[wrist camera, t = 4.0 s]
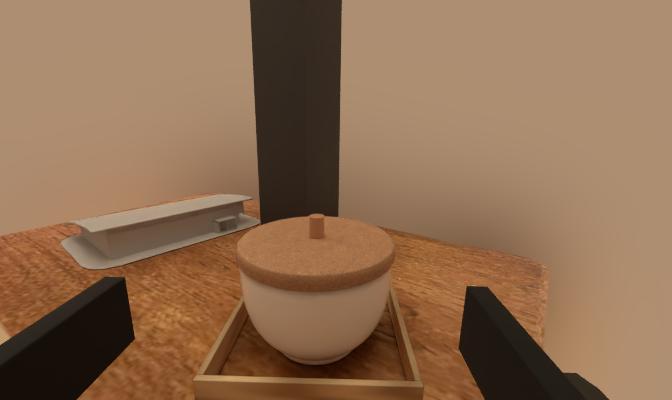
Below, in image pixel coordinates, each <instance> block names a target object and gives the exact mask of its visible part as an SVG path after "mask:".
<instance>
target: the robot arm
mask: <svg viewBox="0 0 672 400" xmlns="http://www.w3.org/2000/svg"><path fill="white" fill-rule="evenodd" d="M134 339H135V336H134V330H133V324H132V318H131V312H130V306H129V300H128V294H127V287H126V281H125V277H104V278H103V279H101V280H100V281H98V282H97V283H95V284H94V285H92V286H90V287H89V288H87V289H86V290H84V291H83V292H81V293H80V294H78V295H77V296H75V297H74V298H72V299H70V300H69V301H67V302H66V303H64V304H63V305H61V306H60V307H58V308H57V309H55V310H54V311H52V312H50V313H49V314H47V315H46V316H44V317H43V318H41V319H40V320H38V321H37V322H35V323H33V324H32V325H30V326H29V327H27V328H26V329H24V330H23V331H21V332H20V333H18V334H17V335H15V336H13V337H12V338H10V339H9V340H7V341H6V342H4V343H3V344H1V345H0V400H77V399H78V397H79V396H80V395H81V394H82V393H83V392H84V391H85V390H86V389H87V388H88V387H89V386H90V385H91V384H92V383H93V382H94V381H95V380H96V379H97V378H98V377H99V376H100V375H101V374H102V373H103V371H104V370H105V369H106V368H107V367H108V366H109V365H110V364H111V363H112V362H113V361H114V360H115V359H116V358H117V357H118V356H119V355H120V354H121V353H122V352H123V351H124V350H125V349H126V348H127V347H128V345H129V344H130V343H131V342H132V341H133V340H134ZM459 350H460V352H461V354H462V356H463V358H464V360H465V362H466V364H467V366H468V368H469V370H470V371H471V373H472V375H473V377H474V379H475V381H476V383H477V385H478V387H479V389H480V391H481V393H482V395H483V397H484V399H485V400H609V399H608V398H607V397H606V396H605V395H604V394H603V393H602V392H601V391H600V390H599V389H598V388H597V387H595V386H594V385H592V384H591V383H589V382H588V381H586V380H585V379H584V378H582V377H581V376H580V375H578V374H577V373H563V372H562V371H561V370H560V369H559V368H558V367H557V366H556V365H555V363H554V362H553V361H552V360H551V359H550V358H549V357H548V356H547V354H546V353H545V352H544V351H543V350H542V349H541V347H540V346H539V345H538V344H537V343H536V342H535V341H534V340H533V338H532V337H531V336H530V335H529V334H528V333H527V332H526V330H525V329H524V328H523V327H522V326H521V325H520V324H519V322H518V321H517V320H516V319H515V318H514V317H513V316H512V314H511V313H510V312H509V311H508V310H507V309H506V308H505V307H504V305H503V304H502V303H501V302H500V301H499V300H498V299H497V297H496V296H495V295H494V294H493V293H492V292H491V291H490V289H489V288H488V287H475V286H467V289H466V296H465V304H464V312H463V319H462V327H461V334H460V342H459Z"/></svg>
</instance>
